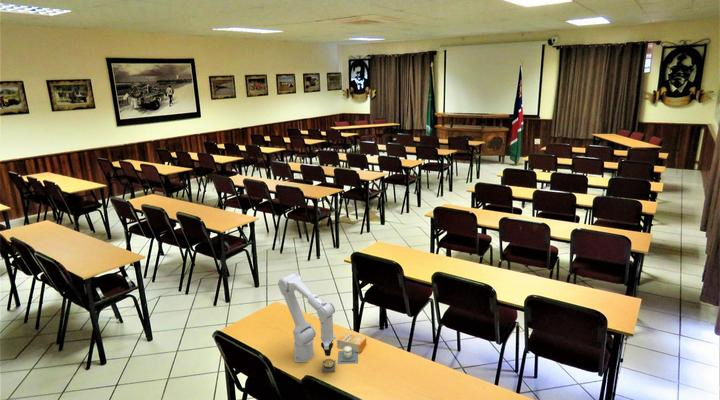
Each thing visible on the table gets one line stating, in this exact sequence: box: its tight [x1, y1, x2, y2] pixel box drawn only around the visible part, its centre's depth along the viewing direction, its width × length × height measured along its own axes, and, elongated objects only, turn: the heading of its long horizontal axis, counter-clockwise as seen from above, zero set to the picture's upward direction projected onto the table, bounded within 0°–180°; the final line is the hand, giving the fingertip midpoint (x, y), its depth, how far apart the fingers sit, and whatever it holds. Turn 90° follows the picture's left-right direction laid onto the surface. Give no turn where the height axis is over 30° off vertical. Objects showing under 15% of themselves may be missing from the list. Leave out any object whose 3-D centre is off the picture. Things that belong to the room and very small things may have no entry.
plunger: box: [322, 358, 334, 367], centre depth 205 cm, size 5×5×4 cm
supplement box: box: [336, 332, 367, 354], centre depth 221 cm, size 8×5×13 cm
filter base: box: [337, 350, 359, 365], centre depth 213 cm, size 10×10×2 cm
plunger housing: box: [321, 360, 336, 374], centre depth 205 cm, size 6×6×3 cm
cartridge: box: [343, 346, 352, 360], centre depth 212 cm, size 4×4×5 cm
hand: (328, 353), depth 203 cm, fingers open, 3 cm apart
